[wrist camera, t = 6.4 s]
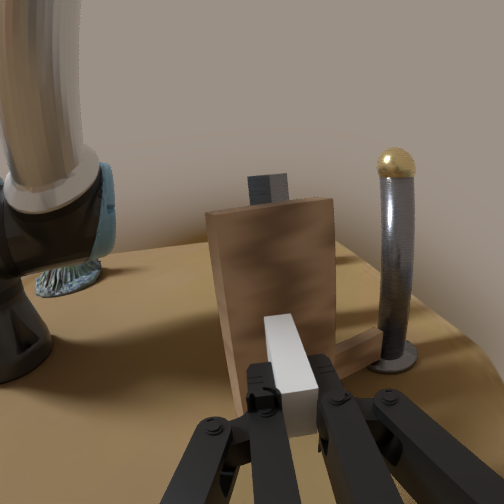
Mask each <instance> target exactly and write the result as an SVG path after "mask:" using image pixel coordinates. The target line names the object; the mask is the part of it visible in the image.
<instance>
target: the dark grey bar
mask: <svg viewBox="0 0 504 504" xmlns="http://www.w3.org/2000/svg"><path fill="white" fill-rule="evenodd" d="M248 188H249V198H250V206H252V205H259V204H266V203H273V202H280V201H288V200H289V195H288V182H287V173H283V174H269V175H258V176H249V177H248Z"/></svg>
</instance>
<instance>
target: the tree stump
mask: <svg viewBox="0 0 504 504" xmlns="http://www.w3.org/2000/svg"><path fill="white" fill-rule="evenodd" d="M100 262H101V261H98V259H94V260H91V261H90V262H89V263H82V264H77V265H72V266H67V267H63V268H58V269H53V270H49V271H44V272H43V273H42V275H41V276H40V277H39V278H36V282H37V283H36V285H35V286H36V295H38V296H40V297H42V298H46V297H58V296H63V295H67V294H71V293H74V292H77V291H79V290H82V289H84V288H86V287H88V286H90V285H92V284H94V283H95V282H96V281H97V280H98V278H99V275H100V271H101V263H100ZM62 291H63V292H62Z"/></svg>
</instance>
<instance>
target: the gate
mask: <svg viewBox="0 0 504 504" xmlns="http://www.w3.org/2000/svg"><path fill="white" fill-rule="evenodd" d="M205 219H206V226H207V233H208V242H209V250H210V257H211V264H212V271H213V278H214V285H215V292H216V299H217V305H218V312H219V318H220V324H221V330H222V337H223V343H224V349H225V354H226V360H227V366H228V372H229V377H230V383H231V388H232V394H233V399H234V404H235V410H236V414H237V416H238V418H239V417H241V416H242V415H244V414H245V412H246V411H247V403H246V395H247V393H248V389H247V373H246V370H247V369H248V367H249V365H250V364H254V363H263V362H268V356H267V345H266V334H265V324H264V317H266V316H274V315H282V314H290V313H291V316H292V318H293V321H294V324H295V326H296V329H297V331H298V334H299V337H300V339H301V342H302V345H303V348H304V350H305V353H306V356H310V355H316V354H322V353H323V354H324V355H326V356H327V357H329V358H330V360H331V362H332V364H333V366H334V368H335V371H336V372H337V374H338V377H339V379H340V380H341V379H343V378H345V377H347V376H349V375H351V374H353V373H355V372H357V371H358V370H360V369H362V368H364V367H366V366H368V365H370V364H372V363H373V362H375V361H377V360H379V359H380V356H381V348H382V340H383V331H381V330H379V329H377V328H375V327H374V328H372V329H369V330H367V331H365V332H363V333H361V334H359V335H357V336H354V337H352V338H350V339H348V340H345V341H343V342H341V343H339V344H336V345H335V330H336V257H335V229H334V228H335V227H334V208H333V199H332V198H321V197H313V198H304V199H296V200H288V201H280V202H273V203H266V204H259V205H252V206H245V207H238V208H231V209H225V210H218V211H212V212H206V213H205Z"/></svg>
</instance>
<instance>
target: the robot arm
mask: <svg viewBox="0 0 504 504" xmlns="http://www.w3.org/2000/svg"><path fill="white" fill-rule="evenodd" d="M80 9H81V0H0V139H1V143H2V147H3V150H4V153H5V157H6V160H7V164H8V167H9V170H10V171H9V173H8V174H7V176H6V179H5V182H3V179H2V178H0V383H3V382H6V381H10V380H13V379H15V378H18V377H20V376H22V375H24V374H26V373H27V372H29V371H31V370H32V369H34V368H35V367H36V366H38V365H39V364H40V363H41V362H42V361H43V360H44V359H45V358H46V357H47V356H48V354H49V353H50V351H51V349H52V346H53V341H52V338H51V335H50V332H49V330H48V327H47V325H46V324H45V322H44V321H43V320H42V318H41V317H40V315H39V314H38V312H37V311H36V309H35V308H34V306H33V305H32V303H31V302H30V300H29V299H28V297H27V296H26V294H25V291H24V288H23V285H22V281H21V277H22V276H26V275H30V274H34V273H39V272H44V271H49V270H53V269H58V268H63V267H67V266H72V265H77V264H82V263H89V262H90V261H91V260H94V259H98V258H101V257H105V256H107V255H108V254H110V253H111V251H112V250H113V248H114V245H115V237H116V219H115V218H116V217H115V209H114V207H115V194H114V183H113V175H112V170H111V167H110V165H109V164H107V163H101V162H99V159H98V156H97V154H96V152H95V151H94V150H93V149H92V148H91V147H89V146H88V145H86V144H84V143H83V136H82V126H81V112H80V96H79V66H78V65H79V59H78V55H79V22H80ZM264 324H265V334H266V345H267V356H268V362H263V363H254V364H250V365H249V367H248V369H247V370H246V373H247V389H248V393H247V395H246V403H247V411H246V412H245V414H244V415H242V416H241V417H239V418H237V419H234V420H231V421H228V420H226V419H225V418H222V417H209V418H206V419H204V420H202V421H201V422H200V423H199V424H198V425H197V427H196V429H195V431H194V433H193V435H192V437H191V440H190V442H189V444H188V446H187V448H186V450H185V452H184V454H183V456H182V458H181V461H180V463H179V465H178V467H177V469H176V471H175V473H174V475H173V477H172V479H171V481H170V483H169V485H168V487H167V489H166V491H165V493H164V496H163V498H162V500H161V502H160V504H229V501H230V498H231V495H232V492H233V488H234V485H235V482H236V478H237V475H238V472H239V468H240V466H241V465H244V464H247V463H250V462H251V464H252V478H253V491H254V504H301V500H300V495H299V490H298V485H297V480H296V475H295V470H294V465H293V460H292V455H291V450H290V445H289V440H288V438H291V437H298V436H304V435H310V434H316V433H317V428H318V432H319V444H318V453H319V452H321V451H322V455H323V458H324V462H325V465H326V468H327V472H328V475H329V479H330V482H331V486H332V489H333V493H334V496H335V500H336V503H337V504H404V503H403V501H402V499H401V496H400V494H399V492H398V490H397V488H396V485H395V483H394V481H393V479H392V477H391V474H392V475H393V476H394V478H395V479H396V480H397V481H398V482H399V483H400V484H401V486H402V487H403V488H404V489H405V490H406V491H407V492H408V493H409V495H410V496H411V497H412V498H413V499H414V500H415V501H416V502H417V503H418V504H504V479H503V478H502V477H500V476H499V475H498V474H497V473H496V472H494V471H493V470H492V469H491V468H490V467H488V466H487V465H486V464H485V463H484V462H483V461H481V460H480V459H479V458H478V457H477V456H475V455H474V454H473V453H472V452H471V451H470V450H468V449H467V448H466V447H465V446H464V445H462V444H461V443H460V442H459V441H458V440H457V439H455V438H454V437H453V436H452V435H451V434H449V433H448V432H447V431H446V430H445V429H444V428H442V427H441V426H440V425H439V424H438V423H437V422H435V421H434V420H433V419H432V418H431V417H429V416H428V415H427V414H426V413H425V412H424V411H422V410H421V409H420V408H419V407H418V406H417V405H415V404H414V403H413V402H412V401H411V400H410V399H408V398H407V397H406V396H405V395H404V394H403V393H401V392H400V391H398V390H395V389H384V390H380V391H379V392H377V393H376V394H375V396H374V398H356V397H353V395H352V394H351V393H350V392H348V391H346V390H345V389H344V387H343V385H342V383H341V381H340V379H339V377H338V374H337V372H336V371H335V368H334V366H333V364H332V362H331V360H330V358H329V357H327V356H326V355H324V354H323V353H322V354H316V355H310V356H306V353H305V350H304V348H303V345H302V342H301V339H300V337H299V334H298V331H297V329H296V326H295V324H294V321H293V318H292V316H291V313H290V314H282V315H274V316H266V317H264ZM390 473H391V474H390Z"/></svg>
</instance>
